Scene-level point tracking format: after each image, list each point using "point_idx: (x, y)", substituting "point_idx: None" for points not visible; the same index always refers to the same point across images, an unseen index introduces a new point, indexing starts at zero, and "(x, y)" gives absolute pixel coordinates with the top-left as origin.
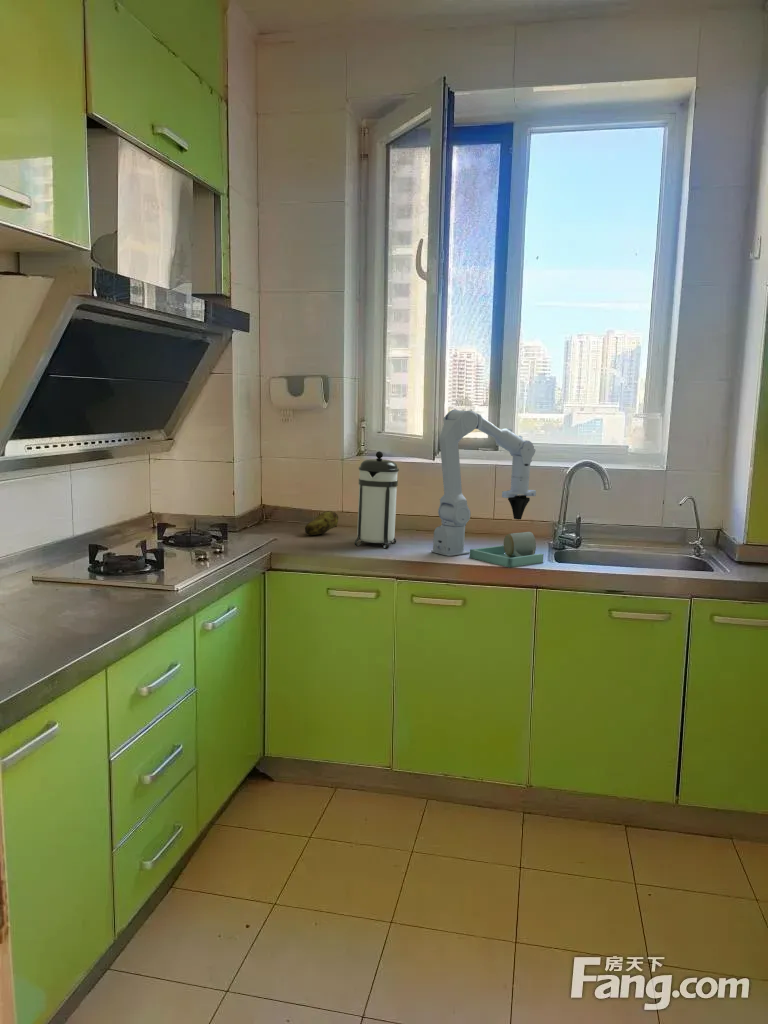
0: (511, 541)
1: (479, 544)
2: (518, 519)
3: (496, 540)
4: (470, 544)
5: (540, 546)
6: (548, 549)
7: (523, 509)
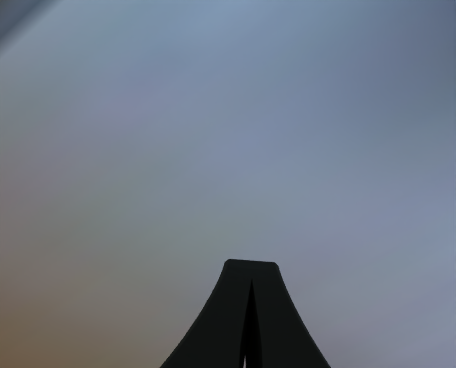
0: None
1: (313, 334)
2: (274, 264)
3: (129, 349)
4: (356, 354)
5: (6, 124)
6: (29, 19)
7: (210, 341)
